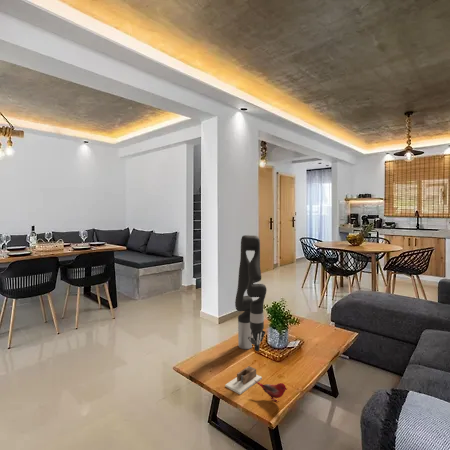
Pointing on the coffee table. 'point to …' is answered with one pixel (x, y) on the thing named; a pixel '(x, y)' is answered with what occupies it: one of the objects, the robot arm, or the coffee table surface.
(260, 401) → the coffee table surface
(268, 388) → the decorative bird figurine
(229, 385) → the peg board
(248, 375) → the slotted block
